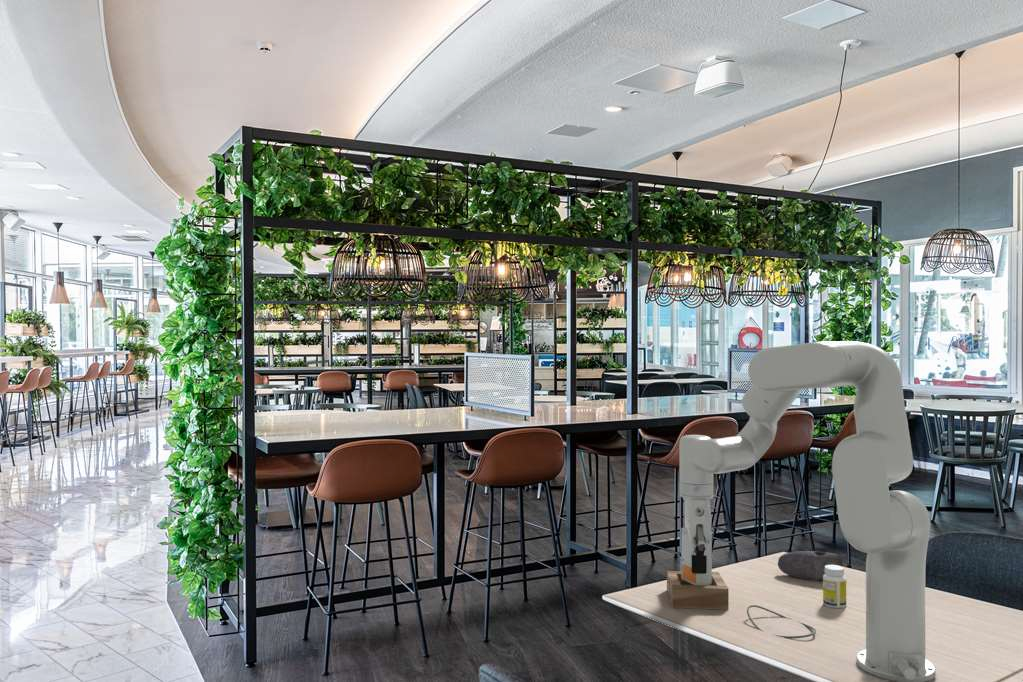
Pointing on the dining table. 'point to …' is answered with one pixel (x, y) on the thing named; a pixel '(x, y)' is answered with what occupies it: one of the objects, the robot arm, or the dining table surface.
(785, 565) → the perforated stone tool
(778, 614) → the loop
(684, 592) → the holder
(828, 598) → the supplement bottle
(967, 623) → the dining table surface
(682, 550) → the skincare box
